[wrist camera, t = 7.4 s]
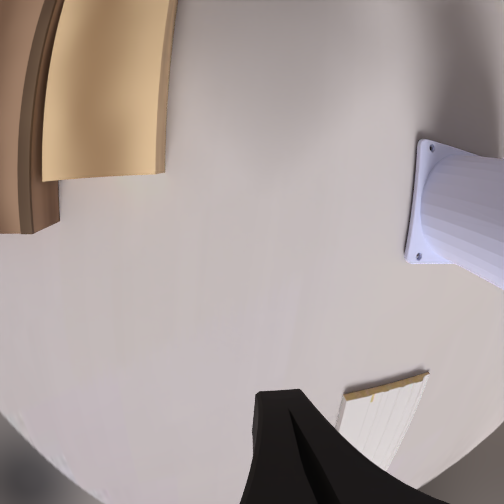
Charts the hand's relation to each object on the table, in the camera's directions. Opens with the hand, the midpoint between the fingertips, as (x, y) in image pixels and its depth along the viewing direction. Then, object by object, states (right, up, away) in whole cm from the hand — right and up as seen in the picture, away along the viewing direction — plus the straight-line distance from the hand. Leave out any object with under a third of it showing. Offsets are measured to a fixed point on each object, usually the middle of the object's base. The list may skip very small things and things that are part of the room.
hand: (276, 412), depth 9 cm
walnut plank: (-15, +18, +3) cm, 24 cm away
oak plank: (-8, +19, +4) cm, 21 cm away
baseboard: (+11, -20, +18) cm, 29 cm away
